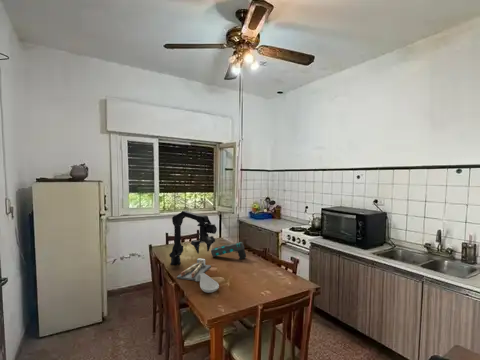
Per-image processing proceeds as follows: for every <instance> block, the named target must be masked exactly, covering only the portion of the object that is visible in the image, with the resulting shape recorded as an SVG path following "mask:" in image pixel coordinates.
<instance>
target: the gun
mask: <svg viewBox="0 0 480 360" xmlns="http://www.w3.org/2000/svg"><path fill="white" fill-rule="evenodd" d="M232 252H235V254H237V255H238V260H239V261H241V260H245V259H246V257H247V255H246V251H245V245H244V241H239V242H234V243H231V244H224V245H220V246H216V247H212V248H211V250H210V254H211V256H212V258H214V257H218V256H223V255H225V254H229V253H230V254H231V253H232Z"/></svg>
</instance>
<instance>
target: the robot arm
mask: <svg viewBox="0 0 480 360" xmlns="http://www.w3.org/2000/svg"><path fill="white" fill-rule="evenodd" d="M185 218H188V219H191V220H195V221H196V222H197V223H198V224H197V227H199V233H198V235H199V238H198V240H196V239H195V240H191V241H190V245H192V246H194V249H195V252H196V253H197V255H199V253H200V247H201V246H200V244H202V243H204V244H206V251H207V252H210V249H211V246H212V245H213V244H214V243H215V242H216V239H215V238H214V236H213V235H211V236H209V234H214V235H215V234H217V232H218V231H217V230H218V229H217V226H216V223H214V224H213V223H212V222H211V221H210V219H209V217H208V215H206V214H197V213H193V212H191V211H188V210H183V211H181V212H180V213H178V214H176V215H175V214H174V215H173V216H172V218H171V221H172V224H173V226H174V227H173V228H174V234H173V235H174V239H173V240H174V241H173V246H172V248H171V249H172V250H171V252H170V253H169V254H168V256H169V258H170V263H169V264H170V265H172V266H179V265H180V264H181V263H182V262H181V256H182V253H183V252H184V245H183V244H181V239H182V238H181V234H182V233H181V232H182V227H181V226H182V225H183V223H184V219H185Z"/></svg>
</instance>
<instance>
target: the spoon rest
mask: <svg viewBox="0 0 480 360" xmlns="http://www.w3.org/2000/svg"><path fill="white" fill-rule="evenodd" d="M195 282H199V287H200V289H201V290H202V291H203V292H204V293H208V294H210V293H215V292H216V291H218V289H219V288H220V285H219V283H218V281H216V280H214V279H213V278H212V277H210V276H209V275H208V274H206V272H204V273H201V274H198V275H197V277H196V280H195Z"/></svg>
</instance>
